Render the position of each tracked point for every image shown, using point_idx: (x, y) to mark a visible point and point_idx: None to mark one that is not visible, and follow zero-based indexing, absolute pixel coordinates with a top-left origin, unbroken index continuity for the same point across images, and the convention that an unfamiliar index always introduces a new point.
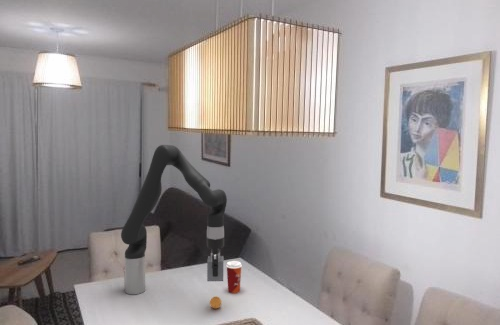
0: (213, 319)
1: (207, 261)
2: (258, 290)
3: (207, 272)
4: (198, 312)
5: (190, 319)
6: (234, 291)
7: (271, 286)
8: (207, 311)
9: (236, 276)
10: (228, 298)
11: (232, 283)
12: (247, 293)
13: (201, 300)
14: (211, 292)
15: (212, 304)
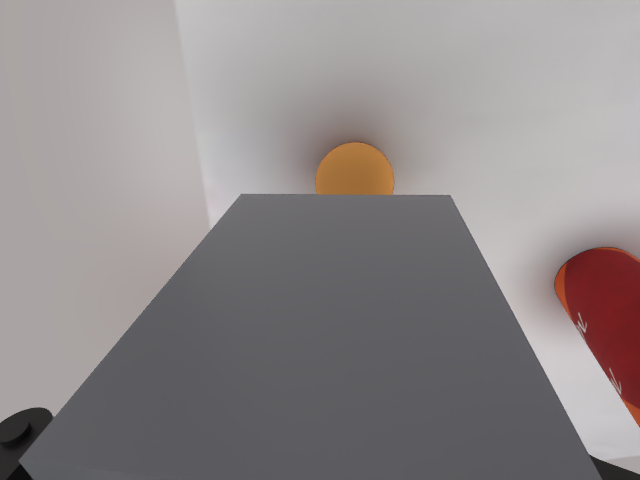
0: (211, 163)
1: (28, 456)
2: (555, 387)
3: (193, 256)
4: (293, 57)
5: (189, 8)
6: (560, 287)
7: (586, 438)
8: (309, 121)
9: (612, 377)
10: (485, 244)
11: (591, 312)
12: (531, 339)
13: (495, 59)
14: (633, 130)
15: (320, 163)
